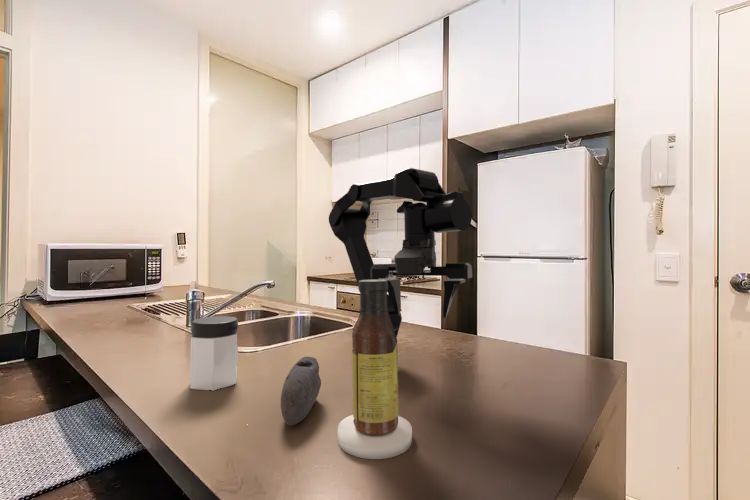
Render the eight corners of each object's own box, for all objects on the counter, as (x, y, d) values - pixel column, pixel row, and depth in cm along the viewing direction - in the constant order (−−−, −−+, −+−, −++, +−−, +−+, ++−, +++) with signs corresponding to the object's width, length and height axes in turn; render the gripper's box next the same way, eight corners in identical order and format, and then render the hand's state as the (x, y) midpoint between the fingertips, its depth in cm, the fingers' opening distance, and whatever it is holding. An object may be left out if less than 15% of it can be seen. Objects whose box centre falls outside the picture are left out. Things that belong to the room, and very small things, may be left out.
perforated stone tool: (304, 436, 50) (305, 385, 50) (266, 435, 51) (267, 384, 51) (324, 394, 65) (325, 354, 65) (295, 393, 66) (295, 354, 66)
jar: (237, 388, 68) (238, 322, 68) (187, 394, 65) (188, 325, 65) (237, 373, 76) (238, 314, 76) (193, 377, 73) (194, 316, 73)
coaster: (323, 448, 47) (323, 436, 47) (357, 416, 57) (357, 406, 57) (397, 466, 43) (397, 454, 43) (420, 429, 53) (420, 418, 53)
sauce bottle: (408, 429, 50) (409, 280, 50) (371, 443, 46) (373, 282, 46) (377, 412, 55) (378, 277, 55) (342, 424, 51) (343, 279, 51)
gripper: (357, 234, 67) (358, 320, 67) (460, 229, 60) (463, 326, 60) (380, 237, 78) (382, 312, 77) (471, 233, 70) (473, 316, 70)
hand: (421, 316), depth 71 cm, fingers open, 9 cm apart
